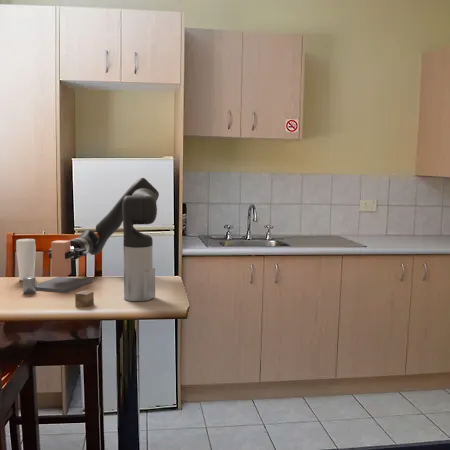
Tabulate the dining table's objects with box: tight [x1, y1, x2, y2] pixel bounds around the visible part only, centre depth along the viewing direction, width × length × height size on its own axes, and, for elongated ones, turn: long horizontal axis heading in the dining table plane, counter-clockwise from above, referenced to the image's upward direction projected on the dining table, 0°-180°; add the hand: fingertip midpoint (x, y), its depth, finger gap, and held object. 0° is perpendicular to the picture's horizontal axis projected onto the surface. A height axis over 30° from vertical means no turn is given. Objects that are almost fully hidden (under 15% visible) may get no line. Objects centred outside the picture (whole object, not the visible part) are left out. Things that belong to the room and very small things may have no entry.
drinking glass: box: [15, 238, 37, 282], centre depth 204 cm, size 7×7×15 cm
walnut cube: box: [74, 290, 95, 308], centre depth 168 cm, size 4×4×4 cm
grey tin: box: [22, 276, 37, 295], centre depth 183 cm, size 4×4×5 cm
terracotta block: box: [50, 239, 72, 277], centre depth 194 cm, size 5×5×12 cm
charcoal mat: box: [36, 276, 93, 293], centre depth 195 cm, size 14×18×1 cm
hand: (58, 255), depth 191 cm, fingers closed on terracotta block, 5 cm apart
